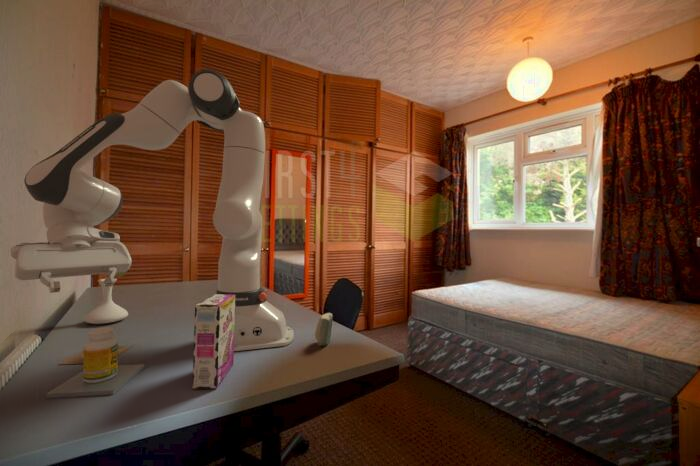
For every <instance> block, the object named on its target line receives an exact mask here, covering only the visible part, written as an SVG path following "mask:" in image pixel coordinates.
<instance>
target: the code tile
mask: <svg viewBox="0 0 700 466" xmlns="http://www.w3.org/2000/svg"><path fill="white" fill-rule="evenodd" d="M130 348H133V345H118V357H119V356H120V355H122V354H123V353H125V352H126V351H127V350H128V351H129V350H130ZM65 365H84V350H82V351H80V352H79V353H76V354H75V355H73V356H71V357H69V358H67V359H65V360H63V361H62V362H59V363H58V366H65Z"/></svg>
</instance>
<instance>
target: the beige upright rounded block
mask: <svg viewBox="0 0 700 466" xmlns="http://www.w3.org/2000/svg"><path fill="white" fill-rule="evenodd" d="M333 317H334V316H333V313H331V312H326V313H324V314H322V315H321V316H320V318H319V319H318V322H317V325H316V329H315V332H314V337H315V340H316V342H317V343H316V345H317V346H318V347H321V348H326V347H327V346H328V345H329V343H330V342H331V337H332V330H333V329H332V327H333V322H334V321H333Z"/></svg>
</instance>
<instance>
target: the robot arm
mask: <svg viewBox="0 0 700 466" xmlns="http://www.w3.org/2000/svg"><path fill="white" fill-rule="evenodd" d="M188 81H189V82H188V86H186V85H184V84H183V83H181V82H179V81H176V80H173V79H167V80H163V81H162V82H161V83H159V84H158V85H156V86H155V87H154V88H153V89H152V90H151V91H149V92H148V93H147V94H146V95H145V96H144V97H143V98H142V100H141V101H139V103H137V105H136V106H135V107H134V108H132V109H131V110H129V111H127V112H123V113H121V114H119V113H114V112H112V113H109V114H106V115H105V116H103V117H102V118H100V119H98V120H97V121H95V122H94V123H93V124H92V125H90V126H89V127H87V128H86V129H84V130H83V131H82V132H80V133H79V134H78V135H77V136H75V137H74V138H73V139H72V140H70V141H69V142H67V143H66V144H65V145H64V146H63V147H61V148H60V149H58V150H57V151H56V152H55V153H53V154H52V155H49V156H48V157H46V158H44V159H42V160H40V161H38V162H37V163H36V164H34V165H33V166H32V167H31V168H30V169H29V170H28V172H27V173H26V174H25V177H24V186H25V188H26V190H27V192H28V193H29V195H30V196H31V197H32V198H33V199H34V200H35V201H37V202H41V203H43V204H42V205H43V206H42V217H43V223H44V226H45V228H47V230H46V241H47V242H43V241H41V242H20V244H16V245H14V246H12V247H11V249H10V256H11V257H12V258H13V259H14V260H16V261H15V269H14V276H15V278H16V279H18V280H20V281H34V280H39V281H40V283H41V284H43V285H44V286H45V287H47V288H48V290H49V293H50V294H52V293H59V292H60V291H61V283H60V280H59V281H58V280H57V281H54V280H53V279H55V278H69V277H79V276H82V277H83V276H92V275H105V274H106V275H107V276H105V278H104V279H105V280H104V284H105V287H109V286H113V287H114V285H115V283H114V279H115V277H116V275H115V274H116V273H120V272H124V273H126V272H128V270H129V269H130V268H131V266H132V261H133V259H132V256H131V254H130V252H129V249H128V248H127V247H126V245H125V244H124V243H123V242H121V240H120V238H121V236H120V234H119V233H117V232H114V231H106V230H101V229H99V228H96V227H97V226H100V225H102V224H104V223H106V222H108V221H110V220H111V219H113V218H115V217H116V216H117V215H118V214H119V213H120V212H121V210H122V207H123V202H124V201H123V194H122V191H121V190H120V188H119V187H116V186H114V185H112V184H110V183H108V182H106V181H104V180H102V179H101V178H97V177H95V176H93V175H91V174H89V173H87V172H84V171H83V170H81V168H82V167H84V166H85V165H86V164H87V163H89V162H90V161H91V160H92V159H93V158H95V157H96V156H97V155H98V154H100V153H101V152H102V151H103V150H105V149H106V148H109V147H111V146H115V145H122V146H123V145H124V146H130V147H135V148H137V149H138V148H139V149H142V150H148V151H160V150H165V149H167V148H169V146H171V145H172V144H173V143H174V142H175V141H176V140H177V138H178V137H179V136H180V135H181V134H182V132H183V131H184V130H185V129H186V127H187V126H188V125H189V124H190V123H192V122H195V121H196V122H197V123H198V124H200V125H201V126H204V127H207V128H210V129H211V130H214V131H217V132H221V133H222V132H224V133H223V134H224V143H223V145H224V146H223V154H222V155H223V156H222V170H221V171H222V173H221V179H220V184H219V189H218V193H217V198H216V204H215V209H214V212H213V214H212V222H213V227H214V228H215V230H216V232H217V233H219V235H220V236H222V241H221V242H222V243H221V250H220V254H219V259H218V271H217V272H218V273H217V277H218V278H217V289H216V292H215V294H233V295H236V296H235V325H234V352H238V351H239V352H240V351H246V350H247V351H248V350H257V349H265V348H266V349H267V348H269V349H270V348H274V347H275V348H276V347H277V348H278V347H285V346H288V345H289V344H291V343H292V341H293V340H294V337H295V335H294V334H295V333H294V330H293V328H291V327H289V326H287V322H286V318H285V315H284V313H283V311H282V310H280V309H278V308H277V307H275V306H274V304H273V305H272V304H271V303H270V302H268V301H267V299H268V298H267V297H268V292H267V289H263V288H262V287H260V282H261V280H260V279H261V255H262V254H261V253H262V239H263V215H262V212H261V211H260V206H261V205H260V204H261V197H262V192H263V186H264V178H265V177H264V175H265V160H266V132H265V125H264V121H263V120H262V119H261V117H259V115H257V114H255V113H253V112H252V111H246V110H243V109H242V108H241V107H240V104H241V103H240V100H239V98H238V96H237V94H236V92H235V91H234V88H233V86H232V85H231V83H230V81H229V80H228V79H227V78H226V77H225V76H224V75H223V74H222V73H220V72H219V71H216V70H214V69H209V68H207V69H206V68H204V69H201V70H198V71H196V72H194V74H193V75H192V76H191V77H190V79H189V80H188Z"/></svg>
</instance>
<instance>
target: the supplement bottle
mask: <svg viewBox="0 0 700 466" xmlns="http://www.w3.org/2000/svg"><path fill="white" fill-rule="evenodd" d="M87 335H88V337H87V338H88V341H87V342H86V343H85V344H84V346H83V351H84V364H83V368H82V369H83V370H84V371H83V370H82V371H83V379H84V381H85V382H87V383H98V382H102V381H106V380H109V379H111V378H113V377H114V376H115V375H116V374H117V371H118V365H119V363H118V362H119V359H118V358H119V356H118V346H119V340H118V338H116V337H115V336H114V335H115V328H114V327H112V326H103V327H97V328H93V329H91V330H89V331H88V333H87Z"/></svg>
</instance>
